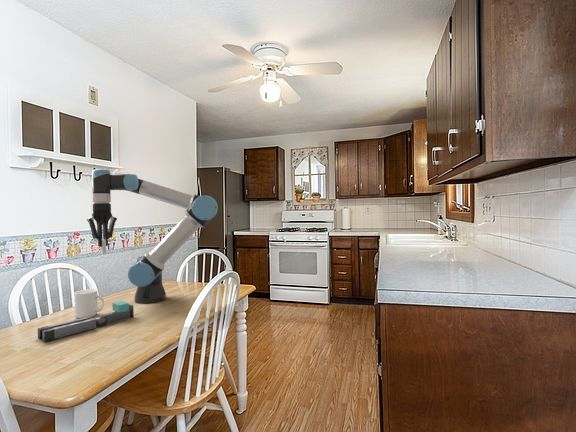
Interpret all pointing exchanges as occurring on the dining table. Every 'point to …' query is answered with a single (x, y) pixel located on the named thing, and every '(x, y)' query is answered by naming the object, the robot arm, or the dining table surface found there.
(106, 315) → the tongs body
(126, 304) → the tab
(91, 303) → the mug
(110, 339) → the dining table surface
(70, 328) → the tongs jaw
